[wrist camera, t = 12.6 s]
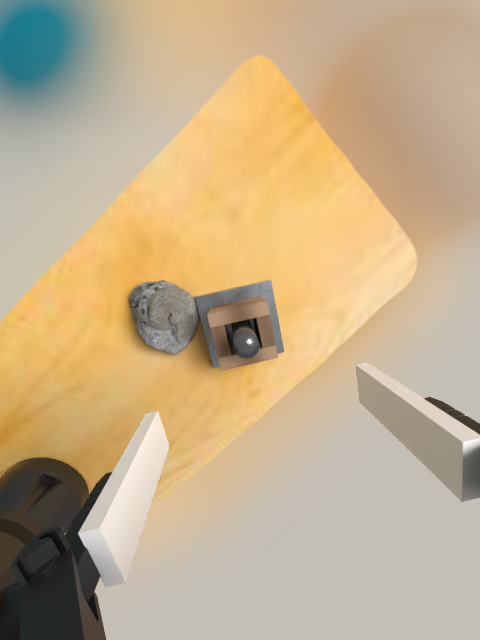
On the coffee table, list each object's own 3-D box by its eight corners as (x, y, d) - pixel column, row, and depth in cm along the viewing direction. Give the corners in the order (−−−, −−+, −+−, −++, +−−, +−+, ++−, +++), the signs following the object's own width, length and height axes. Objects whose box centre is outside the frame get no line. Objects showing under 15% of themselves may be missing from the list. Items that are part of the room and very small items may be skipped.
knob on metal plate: (213, 365, 37) (208, 403, 27) (195, 296, 35) (181, 307, 24) (282, 349, 38) (305, 381, 27) (269, 279, 35) (288, 283, 24)
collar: (222, 354, 36) (221, 370, 30) (210, 307, 34) (206, 314, 28) (269, 343, 36) (278, 357, 30) (260, 296, 34) (267, 301, 28)
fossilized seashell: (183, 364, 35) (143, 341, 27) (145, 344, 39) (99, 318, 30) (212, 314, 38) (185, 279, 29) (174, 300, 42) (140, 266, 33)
